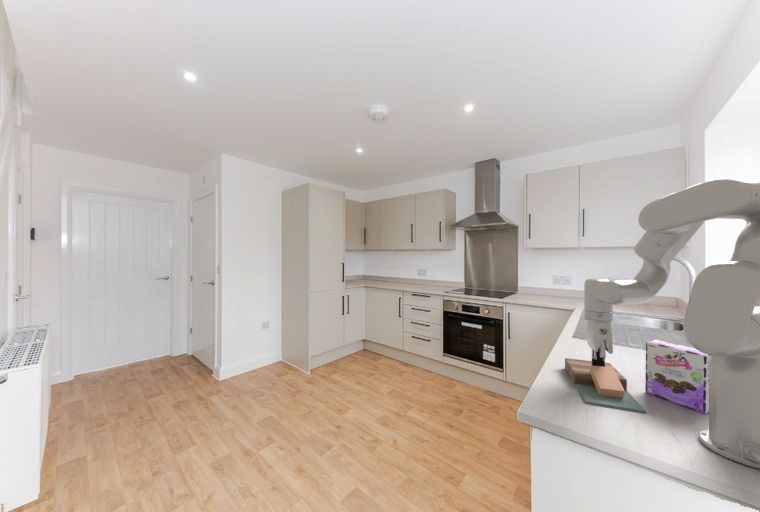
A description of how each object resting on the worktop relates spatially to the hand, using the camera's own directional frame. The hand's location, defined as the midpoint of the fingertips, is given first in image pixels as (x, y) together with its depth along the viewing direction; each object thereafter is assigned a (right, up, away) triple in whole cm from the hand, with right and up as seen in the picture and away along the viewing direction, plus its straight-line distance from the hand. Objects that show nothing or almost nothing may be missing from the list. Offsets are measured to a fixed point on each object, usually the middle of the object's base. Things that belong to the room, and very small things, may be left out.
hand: (598, 370), depth 96 cm
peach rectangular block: (-1, -2, -5) cm, 5 cm away
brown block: (+2, -5, +5) cm, 7 cm away
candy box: (+16, -5, -10) cm, 20 cm away
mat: (-3, -5, -8) cm, 10 cm away
